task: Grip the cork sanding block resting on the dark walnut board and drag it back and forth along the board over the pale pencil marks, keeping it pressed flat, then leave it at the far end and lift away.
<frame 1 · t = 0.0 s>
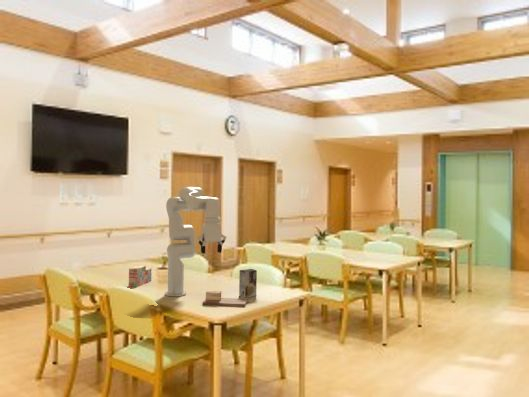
hand: (211, 252, 250), 31 cm above the table, tool pointing down, fingers open, 9 cm apart
sanding block: (213, 300, 269), point 2 cm above the table, touching board
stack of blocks: (140, 284, 316), on the table
coffee box: (247, 296, 288), on the table
board: (225, 303, 268), on the table
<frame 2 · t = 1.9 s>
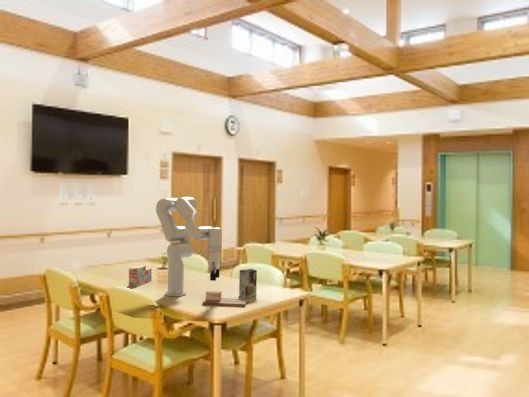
hand: (214, 279, 268), 14 cm above the table, tool pointing down, fingers open, 9 cm apart
nothing on the table moved.
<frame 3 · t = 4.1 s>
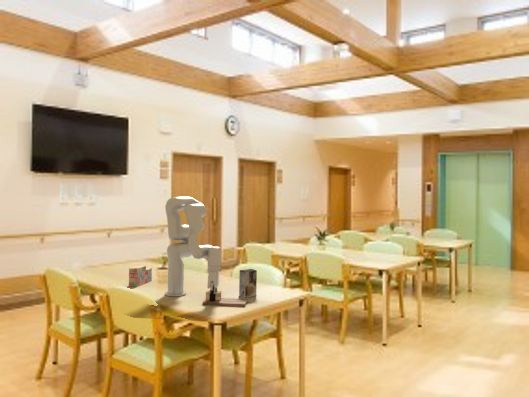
hand: (213, 299, 269), 2 cm above the table, tool pointing down, fingers closed on sanding block, 5 cm apart
sanding block: (213, 300, 269), point 2 cm above the table, touching board, gripper
everything else where it was.
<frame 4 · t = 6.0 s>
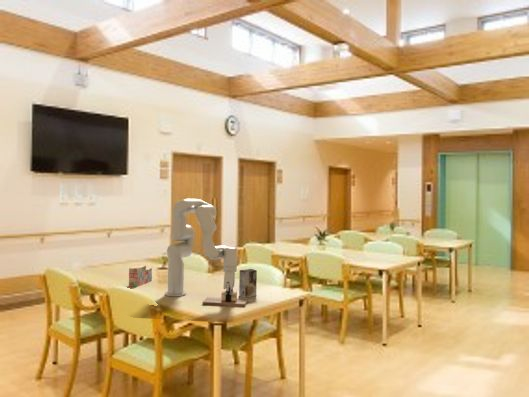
hand: (229, 300, 268), 2 cm above the table, tool pointing down, fingers closed on sanding block, 5 cm apart
sanding block: (229, 300, 268), point 2 cm above the table, touching gripper
everything else where it was.
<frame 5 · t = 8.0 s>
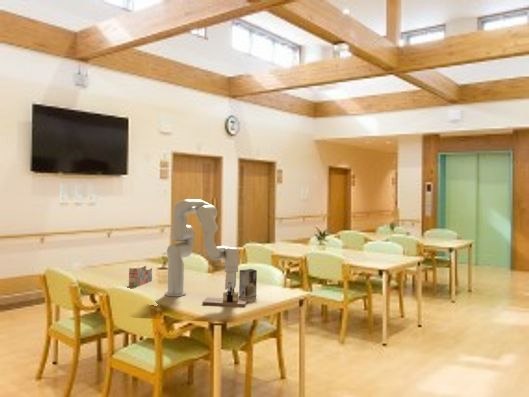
hand: (230, 300, 268), 2 cm above the table, tool pointing down, fingers closed on sanding block, 5 cm apart
sanding block: (230, 300, 268), point 2 cm above the table, touching gripper
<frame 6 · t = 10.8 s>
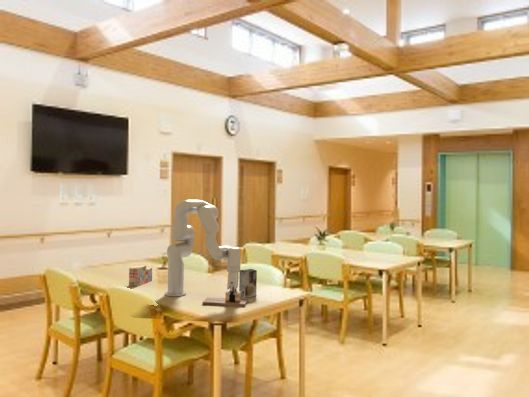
hand: (232, 300, 268), 2 cm above the table, tool pointing down, fingers closed on sanding block, 5 cm apart
sanding block: (232, 300, 268), point 2 cm above the table, touching gripper
when the fingers open (2 cm above the table, at t = 12.4 s): sanding block stays where it is, resting on board.
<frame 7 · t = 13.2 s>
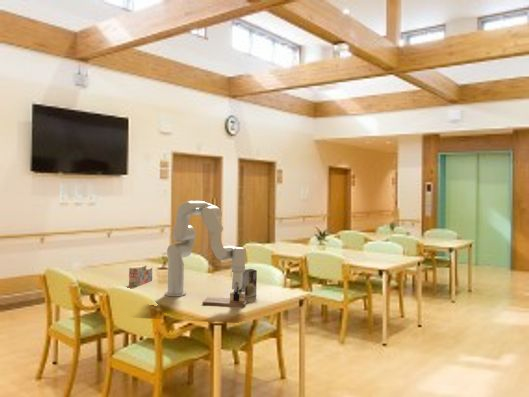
hand: (237, 298, 267), 3 cm above the table, tool pointing down, fingers open, 9 cm apart
sanding block: (237, 301, 267), point 2 cm above the table, touching board
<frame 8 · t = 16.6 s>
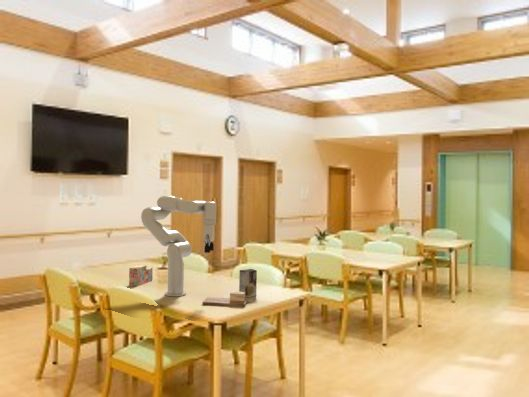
hand: (209, 251, 277), 28 cm above the table, tool pointing down, fingers open, 9 cm apart
at the end: sanding block inside the target area on the board (0.3 cm from its centre), point 1.5 cm above the board's base; sanding block tilted 0°; the gripper is holding nothing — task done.
